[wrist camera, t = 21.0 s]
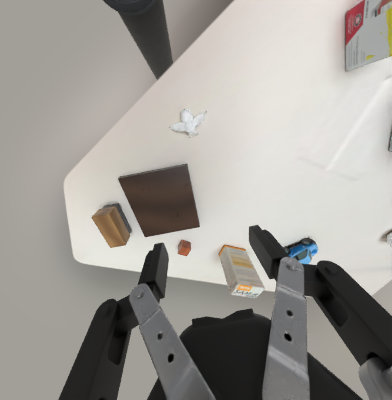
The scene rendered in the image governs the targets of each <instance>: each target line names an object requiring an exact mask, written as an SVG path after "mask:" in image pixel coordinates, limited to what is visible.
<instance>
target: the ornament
mask: <svg viewBox="0 0 392 400" xmlns="http://www.w3.org/2000/svg"><path fill="white" fill-rule="evenodd" d="M387 242H388V243H389V245H390V246H391V247H392V232H390V233H389V234H388V235H387Z"/></svg>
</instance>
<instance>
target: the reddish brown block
mask: <svg viewBox="0 0 392 400" xmlns="http://www.w3.org/2000/svg"><path fill="white" fill-rule="evenodd" d="M190 250H191V243H190V242H187V241H184V240H181V242H180V244H179V246H178V254H180V255H184V256H187V255H188V254H189V252H190Z"/></svg>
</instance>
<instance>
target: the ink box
mask: <svg viewBox="0 0 392 400" xmlns="http://www.w3.org/2000/svg"><path fill="white" fill-rule="evenodd" d="M390 56H392V0H363V1H362V2H360V3H359V4H358V5H356V6H355V7H353V8H352V9H350V10H349V11H348V12H347V13H346V71H349V70H352V69H355V68H358V67H361V66H364V65H367V64H370V63H373V62H376V61H379V60H382V59H384V58H387V57H390Z"/></svg>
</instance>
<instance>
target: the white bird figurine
mask: <svg viewBox="0 0 392 400" xmlns="http://www.w3.org/2000/svg"><path fill="white" fill-rule="evenodd" d="M206 112H207V111H206ZM206 112H204V113H201V114H199V115H197V116H196V117H194V118H193V115H192V113H191V111H189V110H187V109H184V110H183V111H182V113H181V120H182V123H177V124H175V125H173V126H170V127H169V128H171V129H173V130H175V131H187V133H189V134H188V135H189V138H190V137H191V136H193V135H197V134H198V133H197V132H196V127H197V126H198V125H199V124H200V123H201V122H202V121H203V120H204V118H205V115H206Z"/></svg>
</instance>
